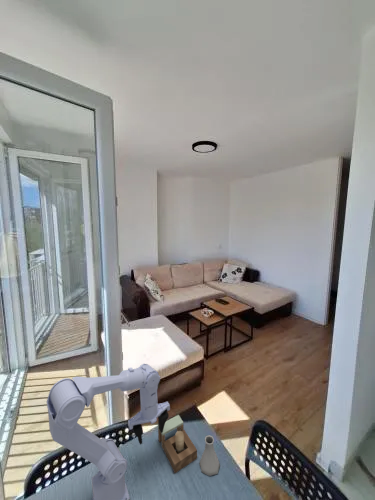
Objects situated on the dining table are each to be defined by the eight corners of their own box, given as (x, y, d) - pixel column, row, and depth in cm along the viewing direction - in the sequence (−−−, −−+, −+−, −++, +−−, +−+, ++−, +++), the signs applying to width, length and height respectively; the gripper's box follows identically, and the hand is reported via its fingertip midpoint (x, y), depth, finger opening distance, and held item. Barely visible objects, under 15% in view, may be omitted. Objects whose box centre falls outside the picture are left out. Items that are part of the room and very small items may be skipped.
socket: (174, 473, 75) (174, 464, 74) (163, 450, 82) (163, 442, 82) (197, 458, 79) (197, 449, 79) (184, 437, 87) (184, 429, 86)
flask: (219, 454, 80) (219, 430, 79) (220, 477, 73) (220, 451, 72) (199, 453, 81) (199, 428, 80) (198, 475, 74) (198, 449, 73)
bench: (162, 449, 83) (162, 434, 82) (158, 440, 86) (157, 425, 85) (183, 436, 87) (183, 422, 86) (178, 428, 91) (178, 414, 90)
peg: (174, 453, 81) (173, 433, 80) (181, 448, 83) (180, 429, 82) (178, 460, 79) (178, 440, 78) (185, 455, 80) (185, 435, 79)
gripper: (131, 419, 69) (134, 457, 70) (173, 399, 76) (174, 434, 78) (125, 404, 75) (127, 439, 76) (164, 386, 82) (165, 419, 84)
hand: (150, 435), depth 77 cm, fingers open, 7 cm apart
